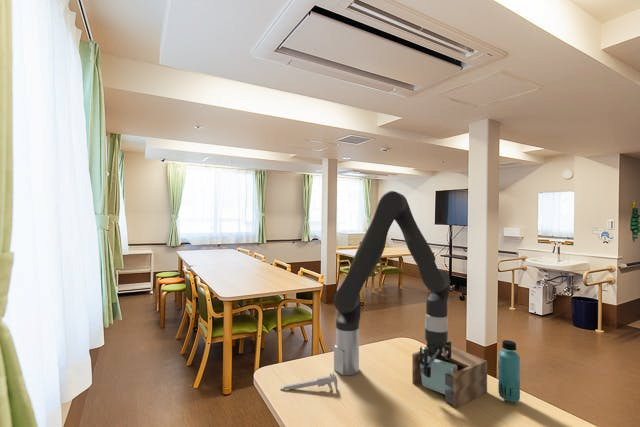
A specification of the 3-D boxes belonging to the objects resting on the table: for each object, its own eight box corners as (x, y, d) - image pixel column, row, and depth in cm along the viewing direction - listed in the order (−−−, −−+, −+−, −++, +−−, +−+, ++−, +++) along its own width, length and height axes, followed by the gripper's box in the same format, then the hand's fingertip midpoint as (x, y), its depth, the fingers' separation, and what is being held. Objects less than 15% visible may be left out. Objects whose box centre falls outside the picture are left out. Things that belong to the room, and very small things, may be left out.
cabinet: (455, 408, 103) (455, 374, 103) (412, 383, 118) (412, 353, 118) (487, 392, 113) (487, 360, 113) (443, 370, 128) (443, 343, 128)
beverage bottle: (517, 397, 109) (517, 339, 109) (523, 408, 103) (523, 346, 103) (496, 393, 111) (496, 336, 111) (500, 404, 105) (500, 344, 105)
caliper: (337, 389, 115) (337, 372, 115) (337, 391, 114) (337, 373, 114) (280, 389, 115) (280, 371, 115) (280, 391, 114) (280, 373, 114)
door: (454, 399, 104) (450, 367, 106) (420, 386, 116) (416, 358, 117) (461, 396, 106) (456, 364, 107) (426, 384, 118) (423, 355, 119)
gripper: (440, 320, 119) (439, 364, 119) (413, 327, 111) (413, 374, 112) (458, 327, 113) (457, 373, 113) (431, 334, 105) (430, 384, 105)
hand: (435, 373), depth 112 cm, fingers open, 8 cm apart
